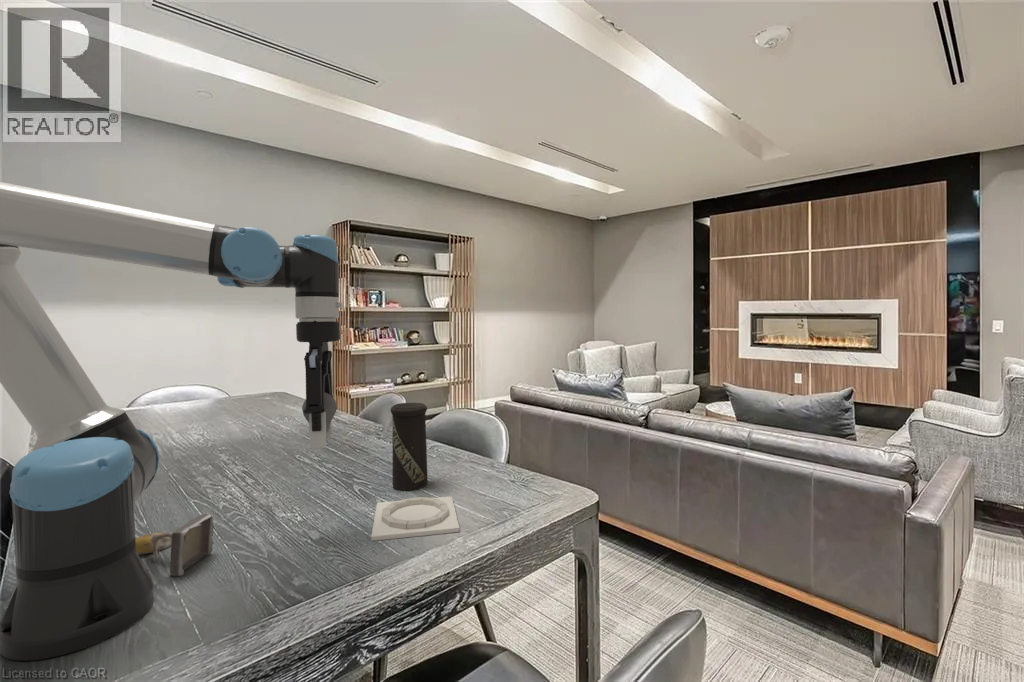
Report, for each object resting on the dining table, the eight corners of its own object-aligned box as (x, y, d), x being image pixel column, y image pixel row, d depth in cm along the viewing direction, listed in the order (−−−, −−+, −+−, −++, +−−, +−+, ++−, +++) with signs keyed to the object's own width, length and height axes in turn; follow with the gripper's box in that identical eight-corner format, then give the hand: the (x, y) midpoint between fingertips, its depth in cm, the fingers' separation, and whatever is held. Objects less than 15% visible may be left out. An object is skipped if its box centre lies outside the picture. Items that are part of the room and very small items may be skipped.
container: (383, 487, 112) (382, 404, 111) (408, 476, 120) (407, 399, 119) (412, 493, 108) (410, 407, 107) (435, 481, 116) (434, 401, 115)
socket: (459, 531, 88) (459, 522, 88) (371, 540, 85) (371, 531, 85) (451, 500, 104) (451, 492, 104) (377, 506, 101) (377, 498, 100)
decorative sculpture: (119, 559, 79) (117, 517, 79) (180, 535, 88) (178, 497, 88) (179, 580, 73) (177, 534, 72) (237, 552, 81) (236, 511, 81)
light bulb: (325, 449, 85) (324, 394, 84) (295, 448, 86) (294, 394, 85) (343, 441, 90) (342, 390, 90) (315, 440, 92) (314, 389, 91)
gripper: (331, 320, 79) (334, 456, 80) (345, 320, 97) (348, 430, 98) (283, 320, 77) (287, 459, 78) (307, 320, 95) (310, 432, 97)
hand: (321, 442), depth 88 cm, fingers closed on light bulb, 6 cm apart
